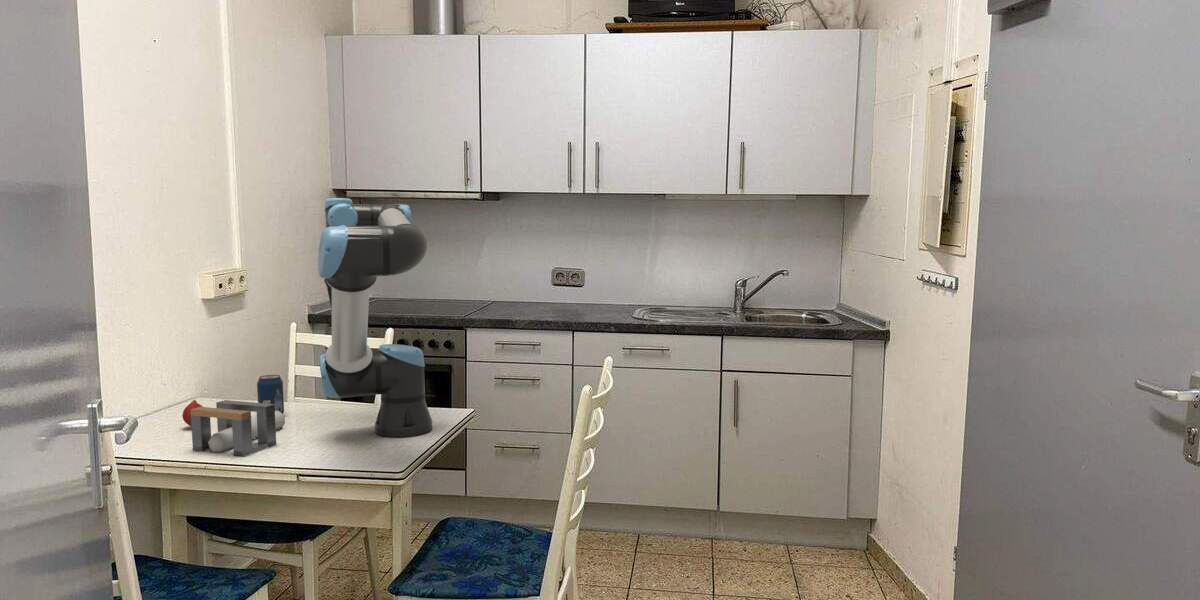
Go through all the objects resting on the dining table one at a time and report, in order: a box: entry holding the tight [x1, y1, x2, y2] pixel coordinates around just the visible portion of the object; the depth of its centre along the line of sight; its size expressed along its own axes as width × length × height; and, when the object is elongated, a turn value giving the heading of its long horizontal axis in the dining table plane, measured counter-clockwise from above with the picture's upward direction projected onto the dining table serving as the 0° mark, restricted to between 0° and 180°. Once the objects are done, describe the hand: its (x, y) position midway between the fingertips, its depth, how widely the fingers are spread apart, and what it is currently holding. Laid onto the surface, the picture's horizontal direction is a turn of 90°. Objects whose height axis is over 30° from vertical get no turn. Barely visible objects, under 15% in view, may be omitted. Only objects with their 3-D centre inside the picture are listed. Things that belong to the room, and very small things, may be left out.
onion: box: [182, 399, 204, 428], centre depth 219 cm, size 6×6×8 cm
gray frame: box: [190, 399, 277, 457], centre depth 199 cm, size 16×11×10 cm
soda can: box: [256, 374, 285, 415], centre depth 231 cm, size 7×7×12 cm
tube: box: [208, 411, 286, 453], centre depth 206 cm, size 5×5×25 cm
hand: (344, 334), depth 228 cm, fingers closed
